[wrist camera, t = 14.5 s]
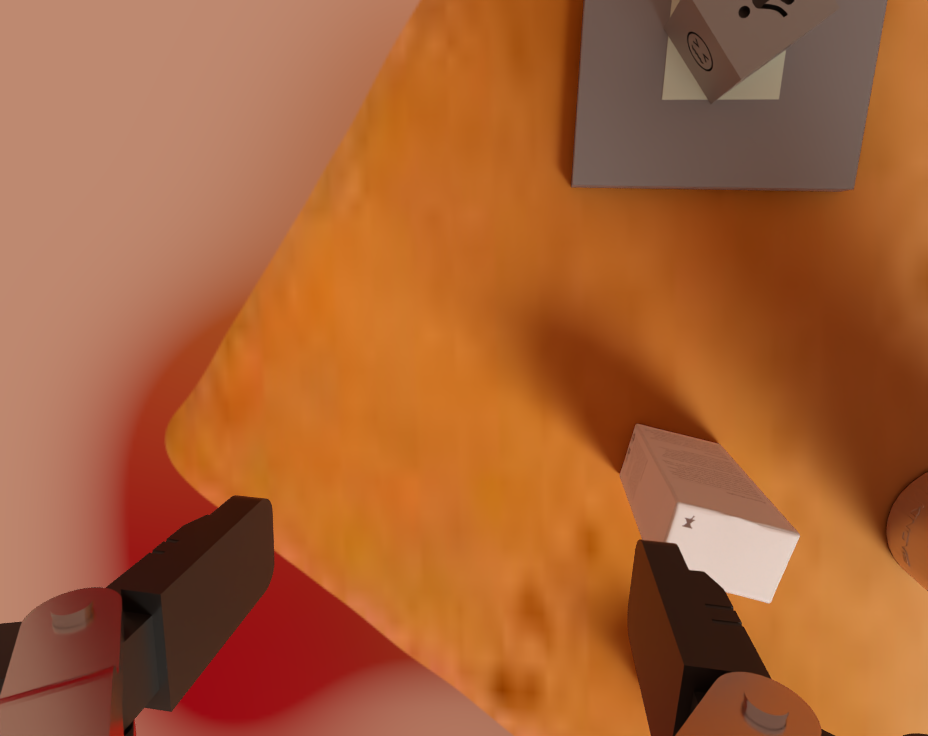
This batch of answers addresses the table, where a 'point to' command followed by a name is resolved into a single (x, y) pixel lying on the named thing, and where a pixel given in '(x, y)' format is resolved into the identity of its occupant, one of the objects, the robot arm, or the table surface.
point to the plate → (721, 106)
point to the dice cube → (739, 36)
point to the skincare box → (707, 511)
